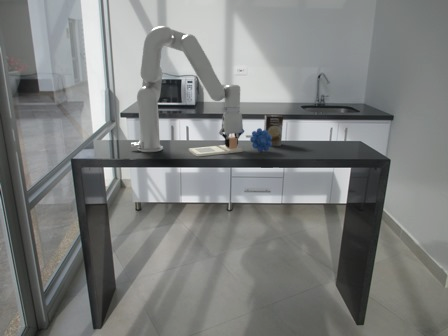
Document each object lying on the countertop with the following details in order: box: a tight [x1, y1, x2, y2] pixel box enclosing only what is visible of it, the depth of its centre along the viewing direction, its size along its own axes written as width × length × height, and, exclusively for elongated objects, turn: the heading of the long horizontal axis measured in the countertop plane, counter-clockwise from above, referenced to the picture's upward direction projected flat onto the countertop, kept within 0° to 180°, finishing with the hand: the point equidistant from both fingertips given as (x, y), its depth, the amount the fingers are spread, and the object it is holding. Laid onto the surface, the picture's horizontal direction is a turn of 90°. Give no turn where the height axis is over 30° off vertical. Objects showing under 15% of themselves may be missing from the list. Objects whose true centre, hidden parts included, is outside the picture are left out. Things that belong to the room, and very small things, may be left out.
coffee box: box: [263, 114, 284, 147], centre depth 193 cm, size 9×6×16 cm
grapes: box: [249, 127, 273, 153], centre depth 177 cm, size 12×7×12 cm, turn 102°
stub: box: [218, 136, 244, 154], centre depth 182 cm, size 8×12×6 cm, turn 25°
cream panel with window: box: [188, 145, 229, 157], centre depth 177 cm, size 16×12×1 cm
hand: (231, 145), depth 182 cm, fingers closed on stub, 4 cm apart
